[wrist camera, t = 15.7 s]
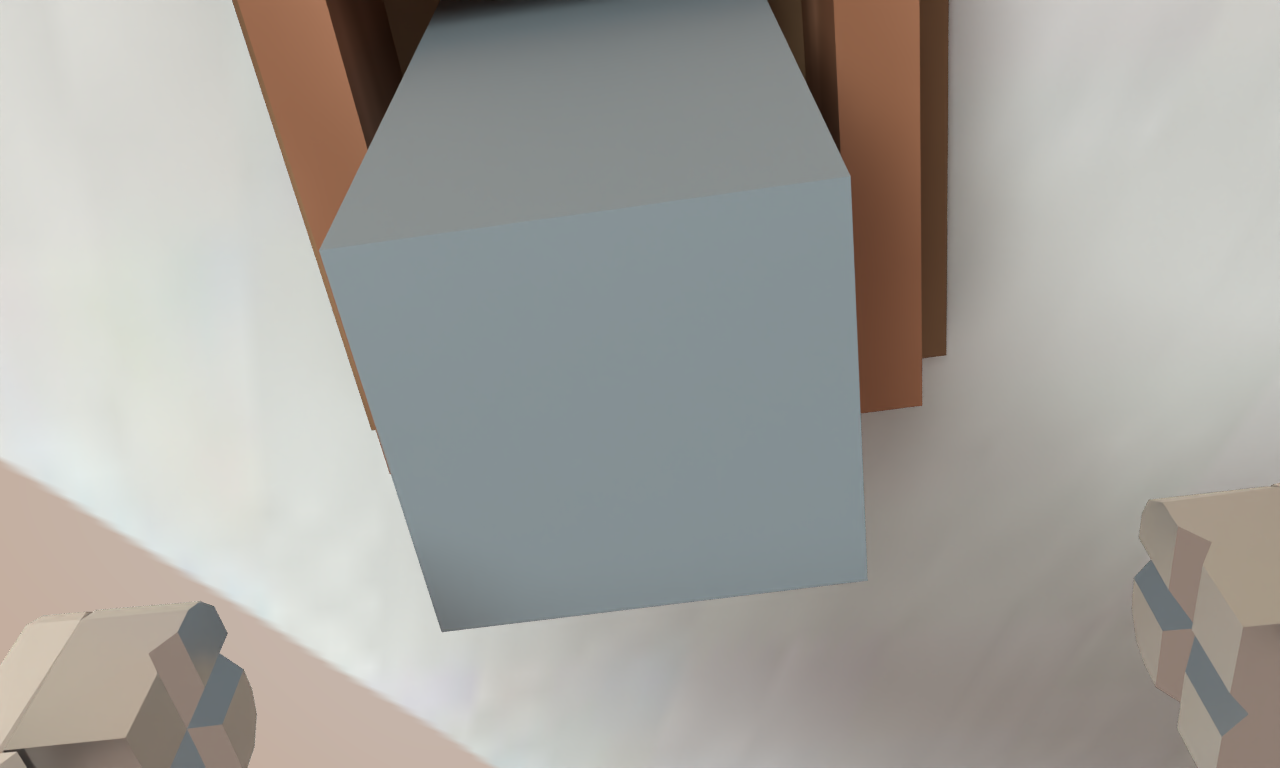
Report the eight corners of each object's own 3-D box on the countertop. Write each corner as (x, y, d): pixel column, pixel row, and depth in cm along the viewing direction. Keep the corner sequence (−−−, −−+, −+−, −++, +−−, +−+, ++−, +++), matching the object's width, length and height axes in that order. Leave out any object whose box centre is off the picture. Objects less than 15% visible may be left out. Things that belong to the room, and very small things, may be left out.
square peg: (741, -55, 19) (850, 175, 10) (764, 220, 22) (867, 580, 13) (445, -10, 19) (318, 250, 11) (504, 256, 22) (441, 631, 13)
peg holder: (934, -333, 18) (1023, -330, 14) (934, 331, 24) (995, 455, 20) (185, -212, 18) (76, -178, 15) (379, 403, 25) (338, 539, 21)
